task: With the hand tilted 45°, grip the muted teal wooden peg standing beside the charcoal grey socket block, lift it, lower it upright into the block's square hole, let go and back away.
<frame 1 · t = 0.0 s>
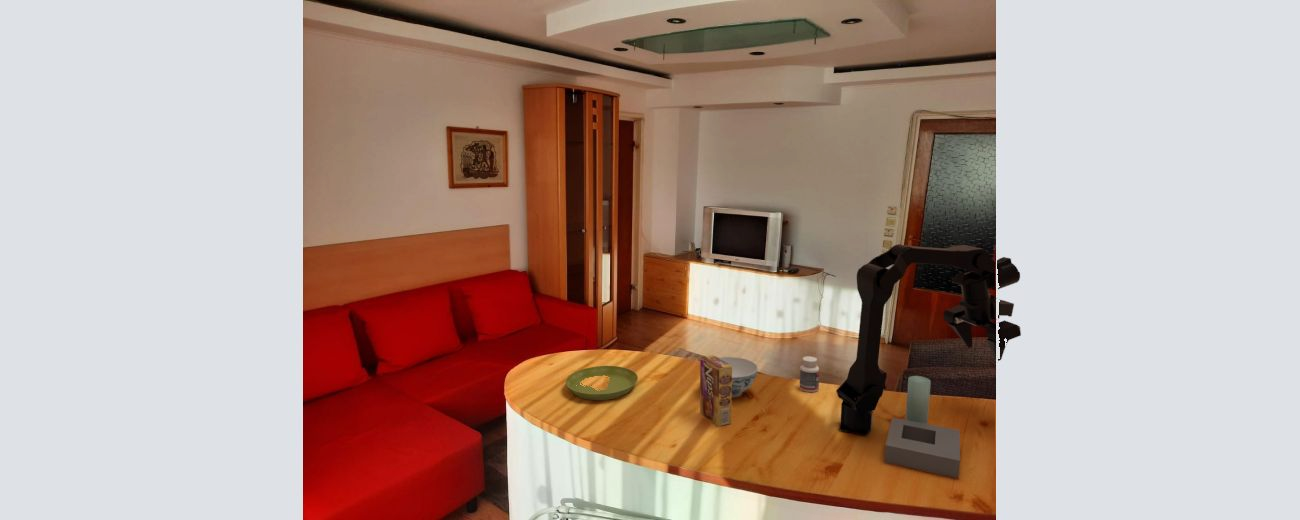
hand: (983, 353, 140), 15 cm above the counter, tool pointing down, fingers open, 9 cm apart
teal peg: (915, 426, 136), on the counter
candy box: (715, 419, 142), on the counter
socket block: (917, 450, 125), on the counter
pill bottle: (808, 389, 159), on the counter
saucer: (602, 389, 162), on the counter
chinaware: (730, 393, 157), on the counter
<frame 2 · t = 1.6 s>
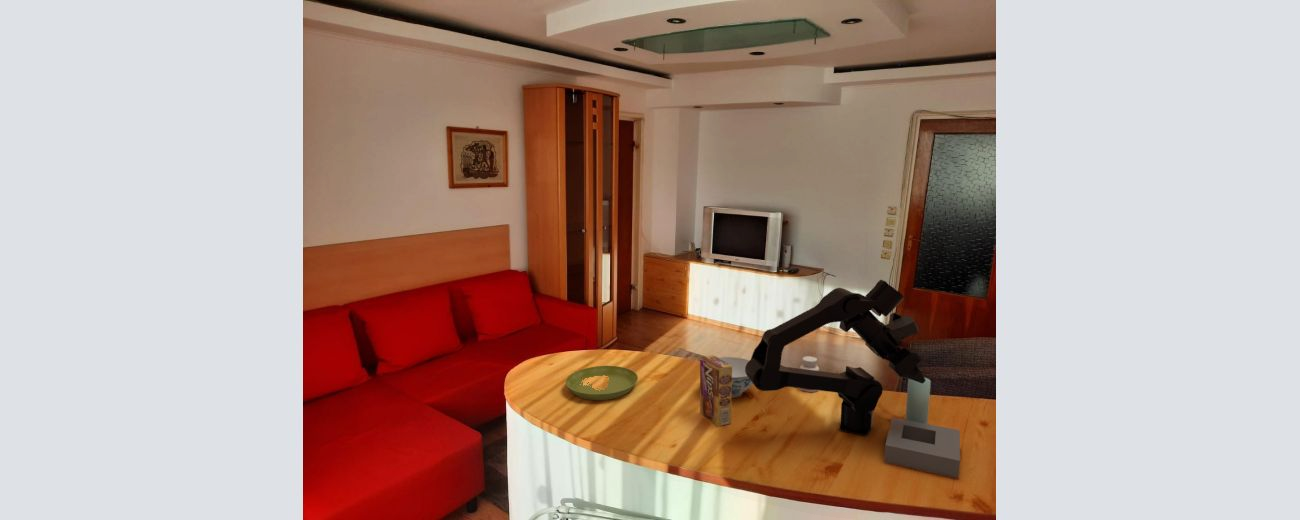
hand: (914, 374, 133), 13 cm above the counter, tool tilted 45°, fingers open, 9 cm apart
nothing on the counter moved.
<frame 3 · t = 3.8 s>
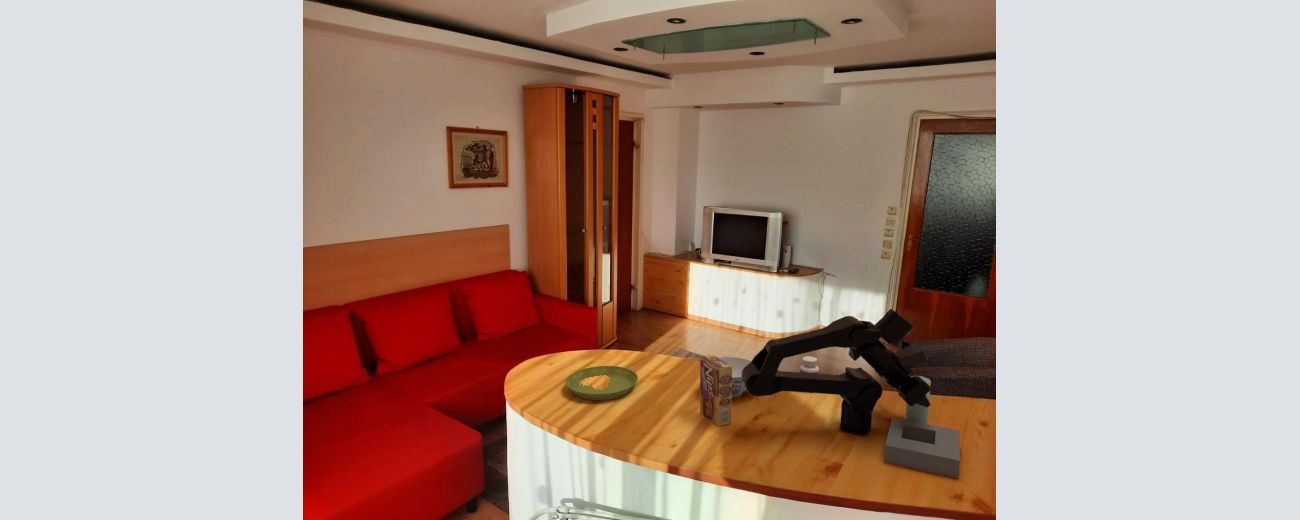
hand: (923, 401, 135), 7 cm above the counter, tool tilted 45°, fingers closed on teal peg, 5 cm apart
teal peg: (915, 426, 136), on the counter, touching gripper
everything else where it was.
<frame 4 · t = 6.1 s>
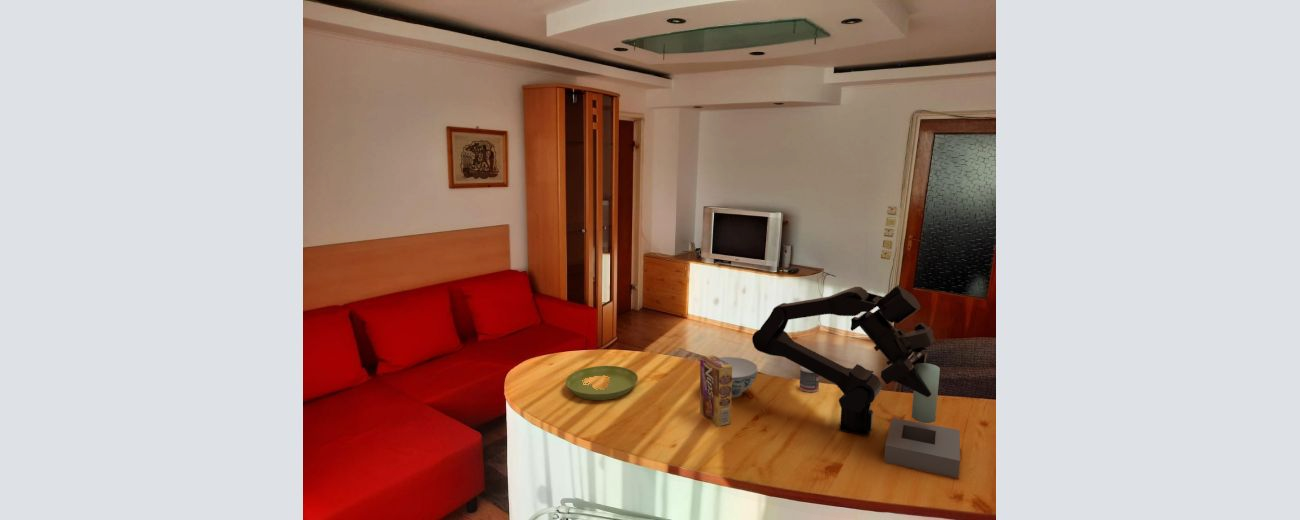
hand: (932, 391, 124), 13 cm above the counter, tool tilted 45°, fingers closed on teal peg, 5 cm apart
teal peg: (923, 417, 126), point 7 cm above the counter, touching gripper
everything else where it was.
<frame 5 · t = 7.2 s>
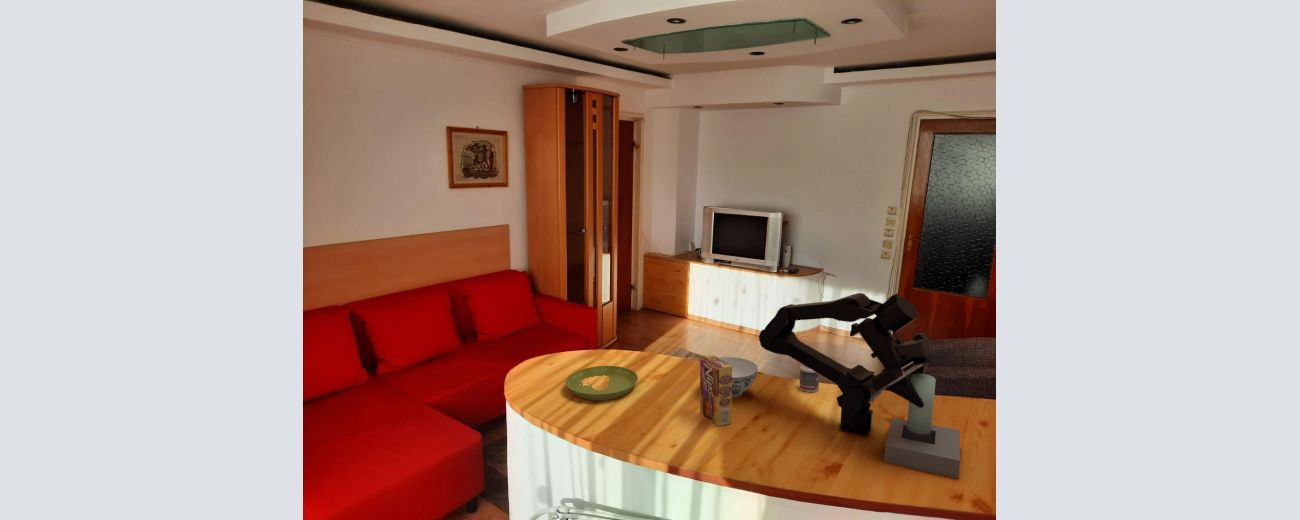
hand: (927, 403, 122), 12 cm above the counter, tool tilted 45°, fingers closed on teal peg, 5 cm apart
teal peg: (918, 428, 124), point 5 cm above the counter, touching gripper
everything else where it was.
when the fingers open (8 cm above the counter, at t = 8.4 s): teal peg drops 1 cm, resting in socket block.
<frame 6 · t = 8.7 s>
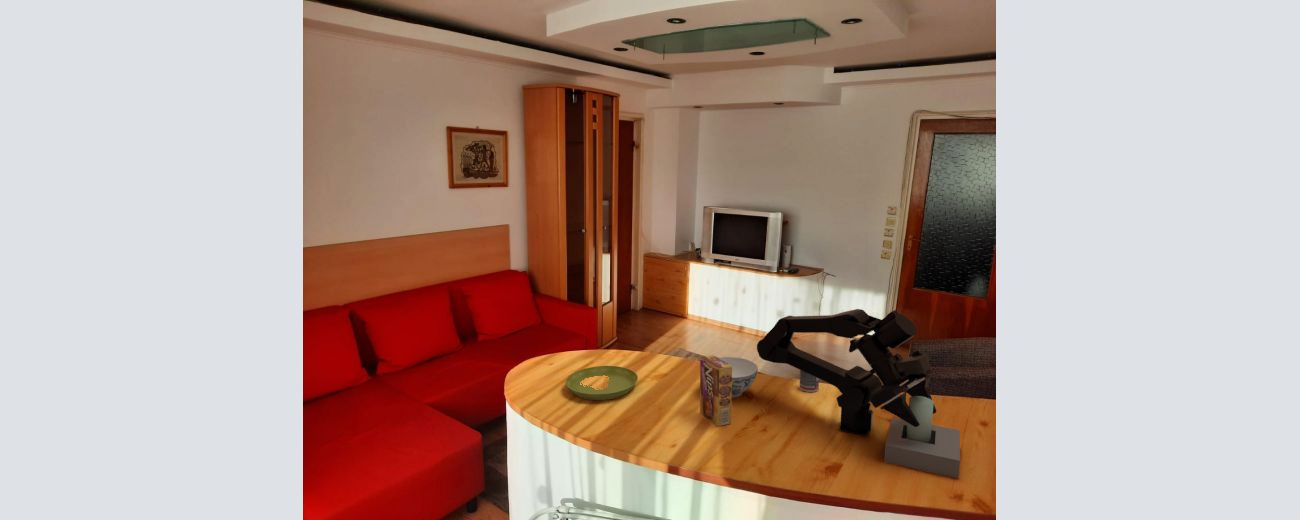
hand: (926, 419, 123), 8 cm above the counter, tool tilted 45°, fingers open, 8 cm apart
teal peg: (917, 450, 125), resting in socket block
everything else where it was.
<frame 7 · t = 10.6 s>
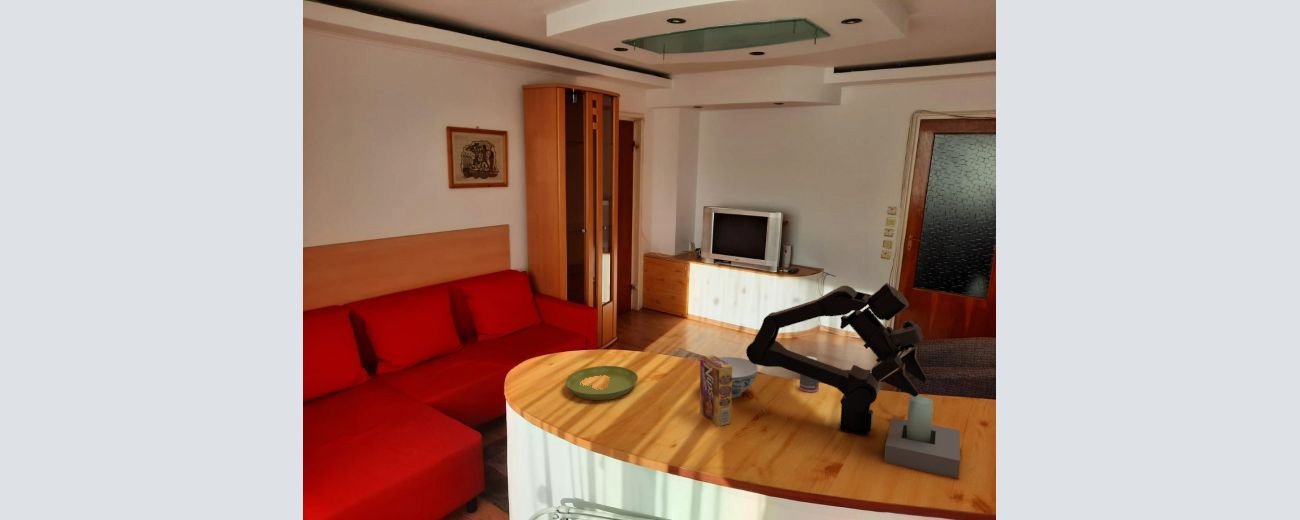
hand: (921, 388, 125), 14 cm above the counter, tool tilted 45°, fingers open, 9 cm apart
nothing on the counter moved.
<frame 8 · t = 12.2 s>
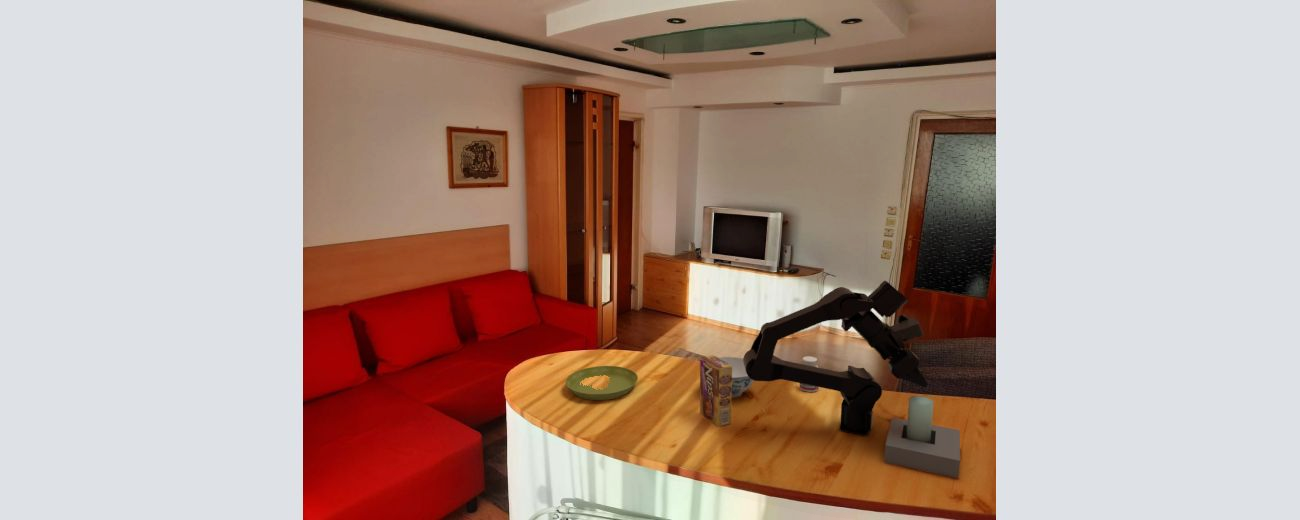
hand: (920, 377, 131), 14 cm above the counter, tool tilted 45°, fingers open, 9 cm apart
nothing on the counter moved.
at the end: teal peg 0.0 cm off-centre on the socket block, point 0.0 cm above the socket block's base; teal peg tilted 1°; the gripper is holding nothing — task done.
